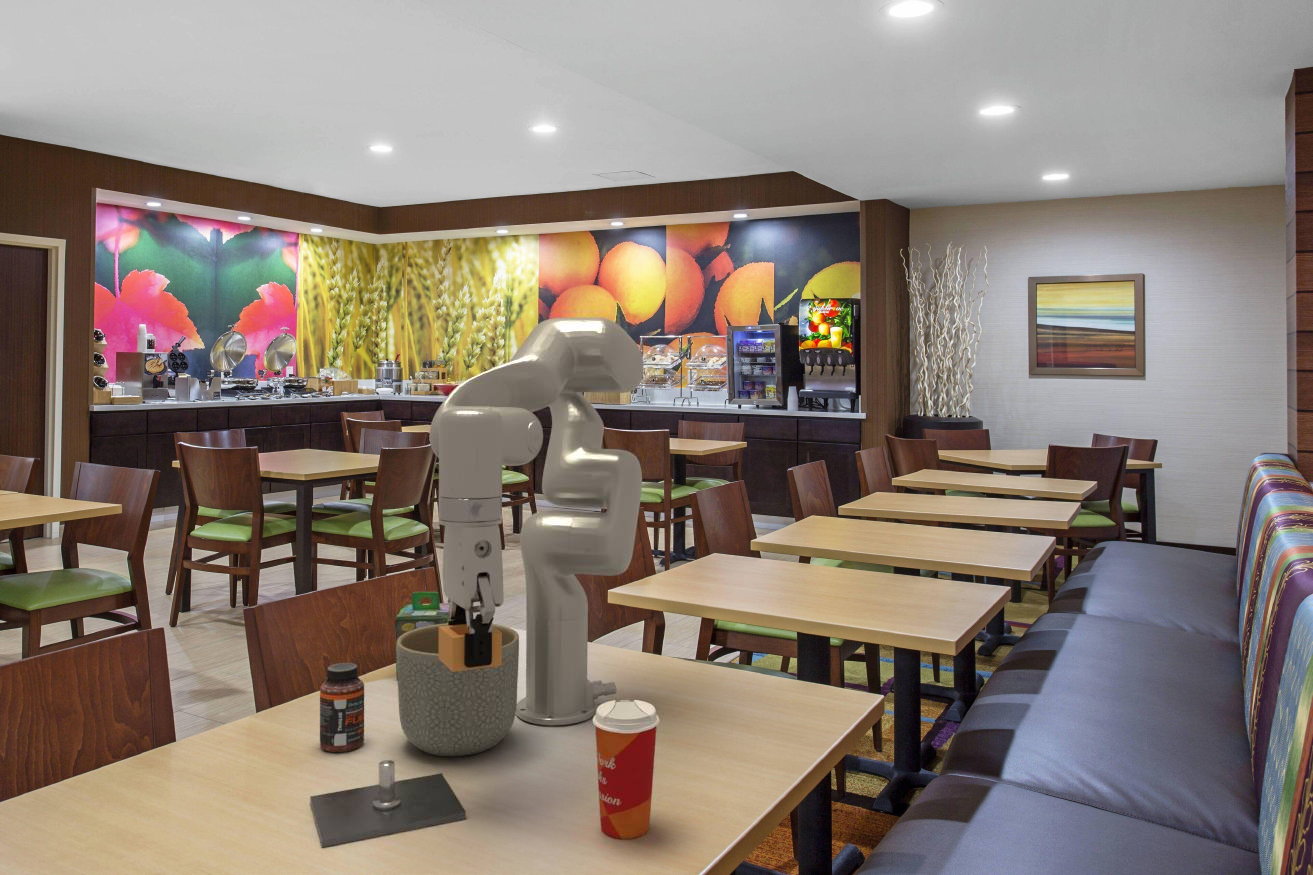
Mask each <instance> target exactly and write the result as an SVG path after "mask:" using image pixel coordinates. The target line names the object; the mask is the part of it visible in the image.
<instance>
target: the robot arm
mask: <svg viewBox="0 0 1313 875" xmlns="http://www.w3.org/2000/svg"><path fill="white" fill-rule="evenodd" d="M643 376H644V358H643V355H642V352H641V349H640V347H639V346H638V344H637V342H636V341H635V340H634V339H633V338H632V337H631V336H630V334H628V332H626V330H625V329H624V328H623V327H622V326H620V325H619V324H618V323H617V322H614V321H613V320H611V319H609V318H604V317H603V318H602V317H555V318H549V319H546V320H543V321H541V322H539V323H538V324H536V325H535V326H534V327H533V329H532V330H531V332H530V333H529V334H528V335H527V337H526V339H525V340H524V341H523V343H522V344H521V345H520V347H519V348H518V350H517V351H516V352H515V353H514V355H513V356H512V358H511V359H510V360H509V361H507V362H504V363H501V364H498V365H497V366H494V367H492V368H489V369H488V370H486V371H484V372H481V373H479V374H477V375H475V376H472V377H470V378H468V379H467V380H465V381H463V382H462V383H460V384H458V385H457V386H456V387H455V388H453V390H451V391H450V393H449V394H448V395H447V397H446V398H445V399H444V400H443V401H442V403H441V405H440V406H439V407H438V409H437V410H436V412H435V413H434V416H433V419H432V420H431V424H430V427H429V444H430V448H431V450H432V452H433V454H434V455H435V456H436V457H437V458H438V524H439V525H441V526H444V535H443V551H442V587H443V593H444V595H445V597H446V598H448V600H447V603H449V610H448V618H449V620H452V621H448V626H450V625H460V624H467V630H468V633H465V644H464V665H465V666H466V667H467V668H471V667H478V666H486V665H490V664H491V663H492V631H493V624H494V623H493V621H494V618H495V617H494V615H495V613H496V608H498V607H501V606H502V605H503V604H504V596H505V595H504V571H503V570H504V569H503V566H504V565H503V551H502V541H501V540H502V539H501V533H500V526H499V525H501V524H502V522H503V466H505V467H506V466H507V467H511V466H512V467H515V466H522V465H525V464H528V463H530V462H531V461H533V460H534V459H535V458H536V457H537V456H538V454H539V452H540V451H541V448H542V445H543V441H544V433H543V426H542V424H541V423H542V422H540V420H539V418H538V416H536V414H534V412H538V411H540V410H543V409H545V408H548V407H549V409H550V414H551V422H552V423H551V431H550V437H549V441H548V442H549V443H548V446H547V451H546V452H547V453H546V456H545V463H544V468H543V472H542V473H543V474H542V482H541V492H542V494H543V497H544V499H545V500H546V501H547V502H548V503H550V504H552V505H555V506H558V507H566V508H574V509H575V508H577V509H580V508H581V509H595V510H596V509H598V510H606V511H605V512H597V511H596V512H595V511H593V512H592V511H580V510H559V509H558V510H554V509H553V510H552V509H551V510H543V511H538V512H535V513H533V514H531V515H530V516H529V517H528V518H527V519H525V521H524V523H523V524H522V527H521V529H520V533H519V534H520V536H519V542H520V543H519V545H520V552H521V556H522V557H521V558H522V563H523V568H524V569H523V570H524V577H525V578H524V579H525V593H526V594H525V598H526V601H525V602H526V605H525V606H526V607H525V608H526V612H525V613H526V619H525V620H526V624H525V625H526V626H525V628H526V629H525V630H526V633H525V635H526V638H525V639H526V642H525V643H526V645H525V646H526V648H525V650H526V652H525V654H526V656H525V658H526V660H525V661H526V662H525V664H526V665H525V666H526V668H525V671H526V672H525V677H526V678H525V679H526V680H525V688H526V689H525V697H523V698H522V699H520V700H519V701H517V705H516V714H515V715H517V717H518V718H519V719H521V720H522V721H525V722H527V723H530V724H534V725H535V724H536V725H542V726H566V725H572V724H573V725H574V724H578V723H581V722H585V721H587V720H590V718H593V717H594V716H595V715H596V710H597V708H598V703H597V702H596V700H597V699H598V698H599V697H602V696H605V697H607V696H612V695H613V696H614V695H616V694H617V685H616V683H615V681H612V682H605V683H603V681H602V680H601V679H600V680H595V681H590V680H589V679H588V642H589V641H588V635H589V634H588V624H589V623H588V622H589V621H588V618H589V616H588V615H589V604H588V598H587V595H586V594H587V593H586V592H585V590H584V587H583V586H582V585H581V583H580V581H579V579H577V577H576V576H575V575H593V576H594V575H595V576H618V575H621V574H623V573H624V572H626V571H627V570H628V568H629V566H630V564H631V561H632V559H633V553H634V548H635V547H634V546H635V540H636V532H637V527H638V520H639V512H640V506H641V498H642V487H643V474H642V471H643V470H642V468H641V463H640V460H639V459H638V457H637V456H636V455H635V454H633V453H632V452H630V451H628V450H623V449H616V448H615V449H614V448H612V449H611V448H609V449H608V448H602V445H603V439H604V438H603V437H604V433H605V432H604V431H605V425H604V422H603V419H602V418H601V416H600V415H599V413H598V411H597V410H596V409H595V407H594V406H593V404H591V403H590V401H589V400H588V399H587V398H586V397H585V396H584V394H583V393H595V394H596V393H597V394H598V393H601V394H602V393H605V394H606V393H609V394H612V393H613V394H614V393H615V394H625V393H630V392H633V391H635V390H636V389H637V388H638V387H639V386H640V384H641V382H642V379H643ZM474 603H479V605H474ZM475 613H477V614H476V615H475V617H474V614H475Z"/></svg>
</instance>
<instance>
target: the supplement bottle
mask: <svg viewBox="0 0 1313 875" xmlns="http://www.w3.org/2000/svg"><path fill="white" fill-rule="evenodd" d="M326 669H327V670H326V671H327V673H326V676H327V679H325V681H324V682H323V683H322V684H321V686H320V688H319V689H320V690H319V746H320V748H321V749H323V750H325V751H326V752H333V753H345V752H348V751H349V752H350V751H353V750H356V749H358V748H359V747H361V746H362V745H363V744H364V741H365V684H364V682H363V680H362V679H360V677H359V676H358V665H357V664H356V663H351V662H341V663H335V664H331V665H329V666H328V667H327V668H326Z"/></svg>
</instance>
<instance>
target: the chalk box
mask: <svg viewBox="0 0 1313 875" xmlns="http://www.w3.org/2000/svg"><path fill="white" fill-rule="evenodd" d="M423 598H427V599H430V600H431V603H421V601H420V600H421V599H423ZM411 603H412V604H410V603H409V604H406V605H405V606H404V607H403V608H401V609H400V611H399V613H398V614H397V615H396V617H395V618H394V624H395V625H394V629H395V630H394V631H395V632H394V633H395V638H394V639H395V669H396V670H395V671H396V673H395V674H396V681H397V682H398V678H397V639H398V638H399V637H400V636H401V635H403V634H404V633H406V632H409V631H411V630H414V629H417V628H421V627H425V626H431V625H437V624H445V623H448V621H452V620H449V618H448V610H449V603H448V602H445V603H444V602H440V594H439V592H438V591H413V592H412V593H411Z"/></svg>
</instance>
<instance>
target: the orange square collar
mask: <svg viewBox="0 0 1313 875" xmlns="http://www.w3.org/2000/svg"><path fill="white" fill-rule="evenodd" d="M465 633H468V630H467V624H460V625H450V626H440V627H439V660H440V661H441V662H442V663H444V664H445V665H446V666H447V667H448V668H449V669H450V670H451V671H452V672H455V671H463V670H470V669H478V668H486V667H493V666H501V665H502V632H500V631H499V630H497V629H496V628H495V627H493V631H492V663H491V664H490V665H486V666H478V667H471V668H467V667H466V666H465V665H464V644H465Z"/></svg>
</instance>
